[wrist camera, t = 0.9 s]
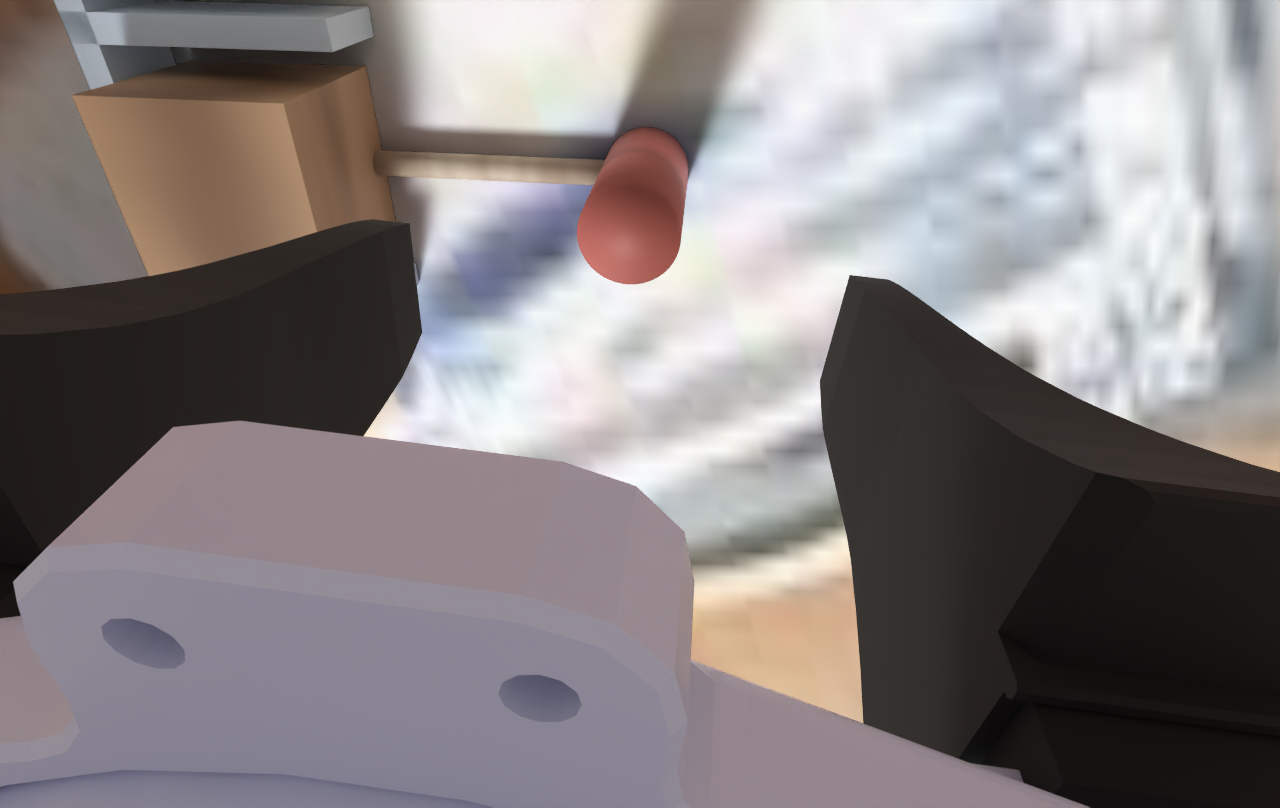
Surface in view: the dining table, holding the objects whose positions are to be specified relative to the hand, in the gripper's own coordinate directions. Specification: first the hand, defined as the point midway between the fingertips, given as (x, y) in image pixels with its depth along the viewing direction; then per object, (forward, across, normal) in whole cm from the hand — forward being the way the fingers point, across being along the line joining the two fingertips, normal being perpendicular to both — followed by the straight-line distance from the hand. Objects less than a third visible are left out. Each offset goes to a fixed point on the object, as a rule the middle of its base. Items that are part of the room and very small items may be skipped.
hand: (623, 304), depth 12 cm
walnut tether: (+10, +6, +1) cm, 12 cm away
